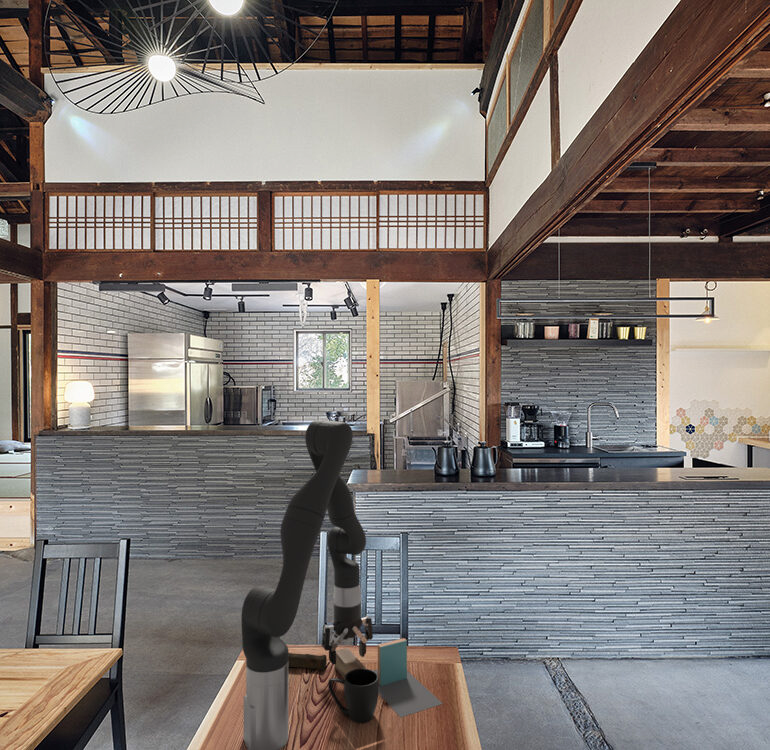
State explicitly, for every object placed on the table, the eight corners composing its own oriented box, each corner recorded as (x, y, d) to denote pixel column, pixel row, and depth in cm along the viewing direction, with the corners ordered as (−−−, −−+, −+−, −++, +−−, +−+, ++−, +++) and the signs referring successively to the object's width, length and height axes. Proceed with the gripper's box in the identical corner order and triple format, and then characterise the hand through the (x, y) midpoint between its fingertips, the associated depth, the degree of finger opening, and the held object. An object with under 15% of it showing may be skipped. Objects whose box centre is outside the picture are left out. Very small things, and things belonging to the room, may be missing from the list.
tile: (380, 686, 140) (380, 647, 141) (377, 683, 142) (377, 644, 142) (407, 678, 144) (406, 640, 144) (404, 675, 146) (403, 638, 146)
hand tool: (327, 666, 152) (327, 650, 152) (323, 674, 148) (323, 657, 148) (265, 660, 156) (265, 643, 156) (259, 667, 152) (259, 650, 152)
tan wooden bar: (360, 702, 134) (360, 682, 134) (334, 669, 150) (334, 650, 151) (374, 698, 136) (374, 678, 136) (347, 665, 152) (347, 647, 152)
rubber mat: (400, 719, 127) (400, 717, 127) (360, 675, 146) (360, 674, 146) (442, 705, 133) (442, 703, 133) (399, 664, 152) (399, 663, 152)
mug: (332, 705, 133) (332, 666, 133) (380, 708, 131) (380, 668, 132) (325, 726, 124) (325, 684, 125) (376, 729, 123) (376, 687, 123)
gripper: (328, 610, 142) (328, 672, 141) (376, 600, 148) (377, 659, 148) (318, 600, 148) (318, 659, 148) (364, 590, 155) (365, 647, 155)
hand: (347, 659), depth 148 cm, fingers open, 8 cm apart
